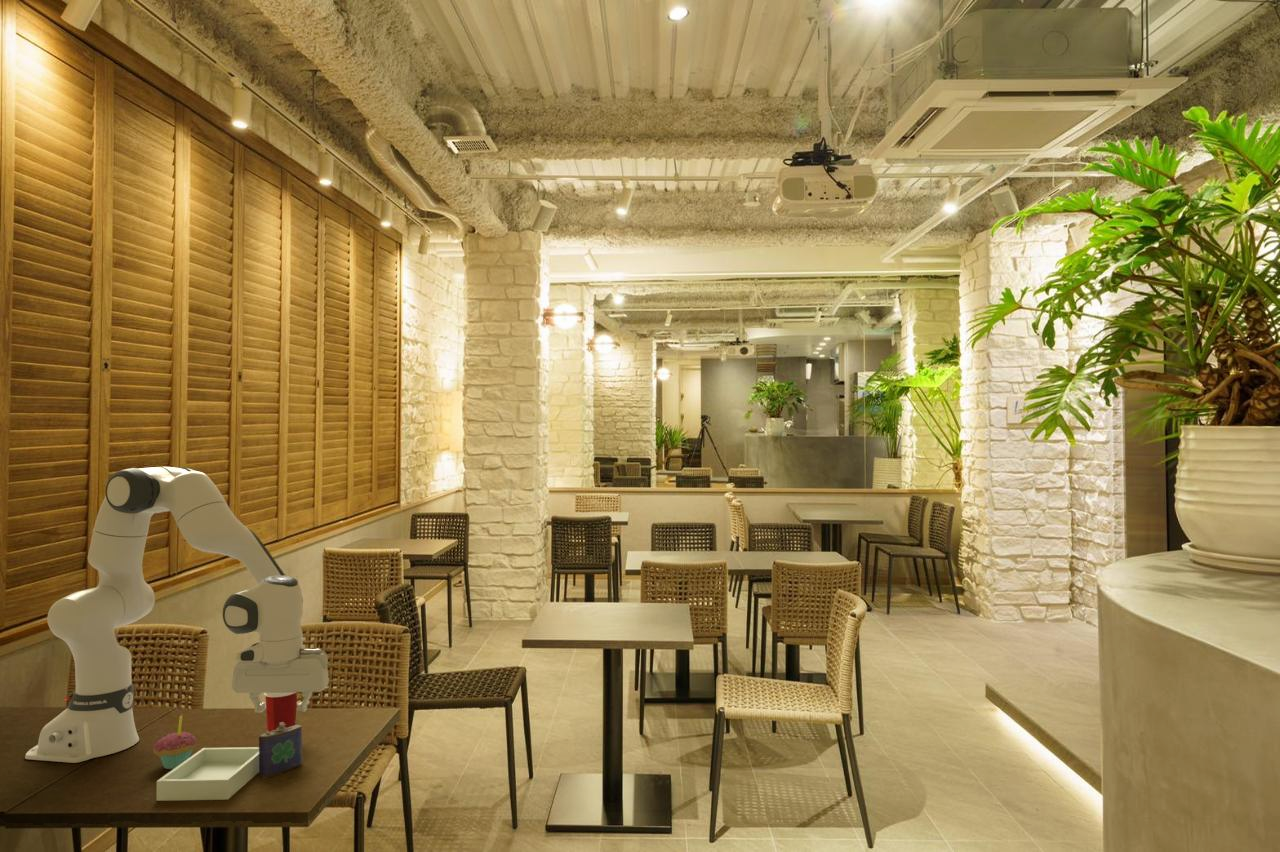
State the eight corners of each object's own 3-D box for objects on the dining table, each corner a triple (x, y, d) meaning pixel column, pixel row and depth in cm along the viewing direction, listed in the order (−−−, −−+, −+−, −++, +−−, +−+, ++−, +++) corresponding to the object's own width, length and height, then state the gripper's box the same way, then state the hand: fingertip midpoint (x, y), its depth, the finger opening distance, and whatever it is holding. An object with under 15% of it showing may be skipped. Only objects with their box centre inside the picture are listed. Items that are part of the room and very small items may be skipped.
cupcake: (205, 759, 173) (205, 707, 174) (172, 775, 165) (172, 720, 166) (178, 755, 176) (178, 704, 176) (143, 770, 168) (144, 716, 168)
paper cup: (305, 738, 185) (305, 681, 186) (287, 751, 178) (287, 691, 178) (275, 737, 186) (275, 681, 186) (256, 750, 178) (256, 691, 179)
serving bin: (156, 800, 153) (156, 781, 154) (203, 765, 170) (203, 748, 170) (227, 799, 154) (227, 779, 154) (267, 764, 170) (267, 746, 170)
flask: (299, 762, 171) (299, 715, 172) (305, 766, 169) (304, 718, 170) (257, 776, 165) (256, 727, 165) (262, 780, 163) (262, 730, 163)
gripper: (333, 644, 171) (333, 705, 171) (243, 646, 171) (243, 707, 170) (321, 652, 165) (321, 715, 164) (228, 654, 164) (228, 717, 164)
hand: (281, 711), depth 167 cm, fingers open, 8 cm apart
